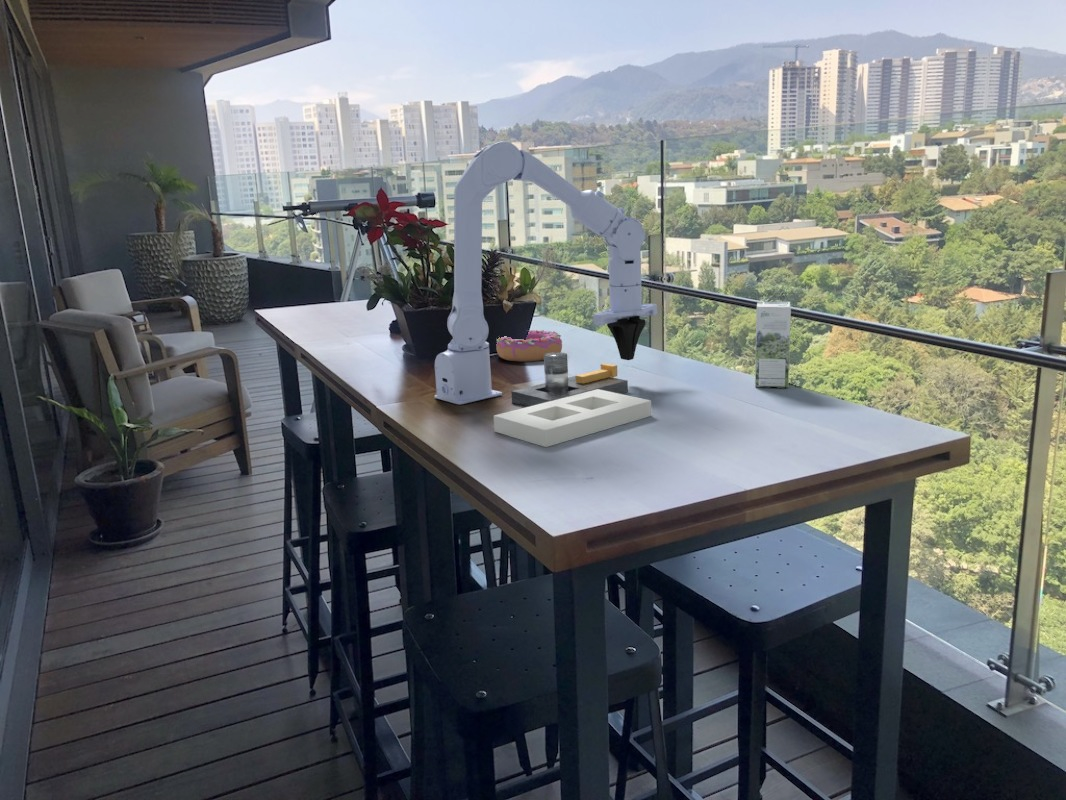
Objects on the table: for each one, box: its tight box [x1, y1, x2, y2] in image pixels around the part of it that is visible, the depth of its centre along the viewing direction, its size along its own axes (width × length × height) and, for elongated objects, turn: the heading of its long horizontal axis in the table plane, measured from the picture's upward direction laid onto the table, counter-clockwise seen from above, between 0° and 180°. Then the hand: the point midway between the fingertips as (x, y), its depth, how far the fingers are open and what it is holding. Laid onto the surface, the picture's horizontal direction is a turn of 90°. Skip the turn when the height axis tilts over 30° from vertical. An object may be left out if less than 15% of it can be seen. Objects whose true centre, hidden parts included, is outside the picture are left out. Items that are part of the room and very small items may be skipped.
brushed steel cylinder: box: [543, 352, 569, 394], centre depth 148 cm, size 4×4×8 cm
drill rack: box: [493, 389, 652, 448], centre depth 134 cm, size 22×12×2 cm, turn 130°
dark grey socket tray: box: [511, 375, 629, 407], centre depth 151 cm, size 18×10×2 cm, turn 130°
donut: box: [495, 329, 563, 363], centre depth 188 cm, size 14×14×5 cm
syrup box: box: [754, 301, 792, 389], centre depth 151 cm, size 6×6×14 cm
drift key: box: [575, 362, 618, 384], centre depth 154 cm, size 8×3×2 cm, turn 130°
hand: (627, 359), depth 159 cm, fingers closed
